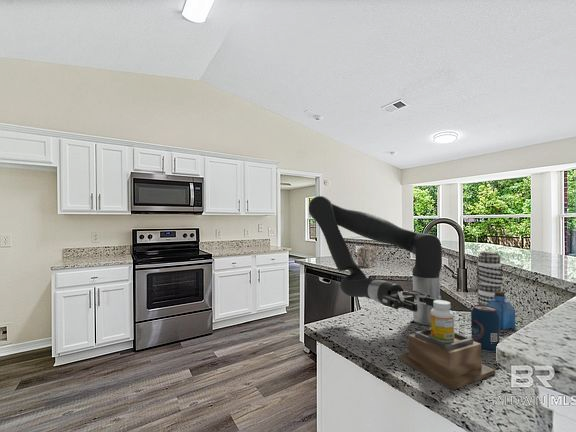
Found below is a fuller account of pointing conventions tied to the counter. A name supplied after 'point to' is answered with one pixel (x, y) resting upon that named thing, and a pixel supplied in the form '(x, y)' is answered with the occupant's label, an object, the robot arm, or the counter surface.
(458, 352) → the display pedestal
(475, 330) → the soda can
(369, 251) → the decorative jar
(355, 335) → the counter surface
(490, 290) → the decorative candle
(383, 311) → the counter surface
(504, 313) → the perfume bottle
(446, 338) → the supplement bottle
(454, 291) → the counter surface
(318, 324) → the counter surface
